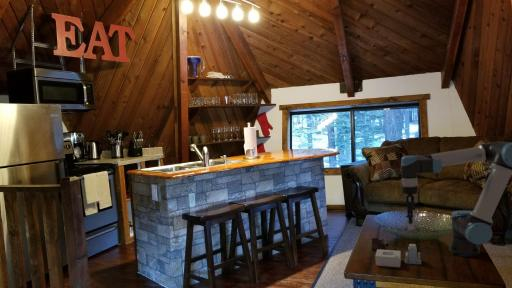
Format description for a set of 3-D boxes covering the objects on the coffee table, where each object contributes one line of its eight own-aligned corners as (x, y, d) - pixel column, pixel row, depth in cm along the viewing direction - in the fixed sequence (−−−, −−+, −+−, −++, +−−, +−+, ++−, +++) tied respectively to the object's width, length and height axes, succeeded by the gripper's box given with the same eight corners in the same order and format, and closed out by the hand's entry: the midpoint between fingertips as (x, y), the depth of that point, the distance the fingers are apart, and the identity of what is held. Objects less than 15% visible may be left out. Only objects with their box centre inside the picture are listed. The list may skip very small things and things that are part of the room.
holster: (421, 261, 210) (420, 252, 210) (421, 266, 205) (420, 256, 205) (405, 260, 214) (404, 251, 213) (404, 264, 208) (404, 255, 208)
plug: (417, 260, 210) (416, 244, 209) (417, 262, 207) (416, 246, 206) (409, 260, 211) (408, 243, 211) (408, 262, 209) (408, 245, 208)
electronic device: (386, 254, 225) (385, 241, 224) (371, 250, 232) (370, 238, 231) (390, 251, 228) (389, 239, 227) (375, 248, 235) (374, 236, 234)
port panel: (401, 261, 212) (400, 250, 212) (400, 269, 203) (399, 256, 203) (377, 260, 217) (377, 248, 217) (375, 267, 208) (375, 255, 207)
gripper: (403, 181, 219) (404, 218, 221) (400, 190, 196) (402, 232, 198) (417, 181, 216) (419, 219, 218) (417, 190, 193) (418, 233, 195)
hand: (411, 225), depth 208 cm, fingers open, 13 cm apart
